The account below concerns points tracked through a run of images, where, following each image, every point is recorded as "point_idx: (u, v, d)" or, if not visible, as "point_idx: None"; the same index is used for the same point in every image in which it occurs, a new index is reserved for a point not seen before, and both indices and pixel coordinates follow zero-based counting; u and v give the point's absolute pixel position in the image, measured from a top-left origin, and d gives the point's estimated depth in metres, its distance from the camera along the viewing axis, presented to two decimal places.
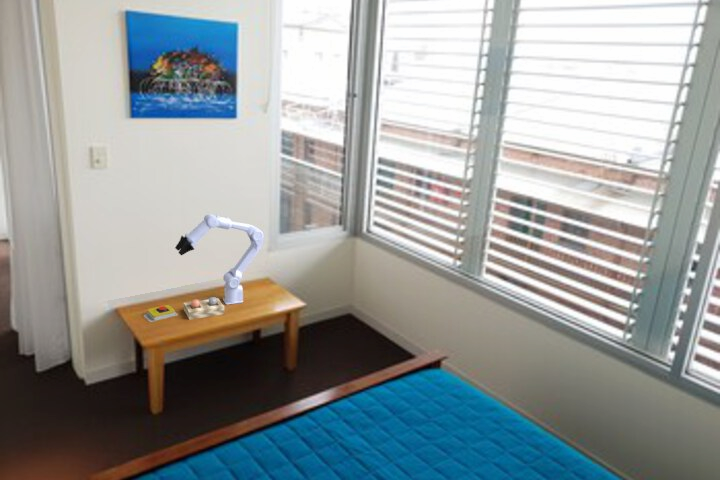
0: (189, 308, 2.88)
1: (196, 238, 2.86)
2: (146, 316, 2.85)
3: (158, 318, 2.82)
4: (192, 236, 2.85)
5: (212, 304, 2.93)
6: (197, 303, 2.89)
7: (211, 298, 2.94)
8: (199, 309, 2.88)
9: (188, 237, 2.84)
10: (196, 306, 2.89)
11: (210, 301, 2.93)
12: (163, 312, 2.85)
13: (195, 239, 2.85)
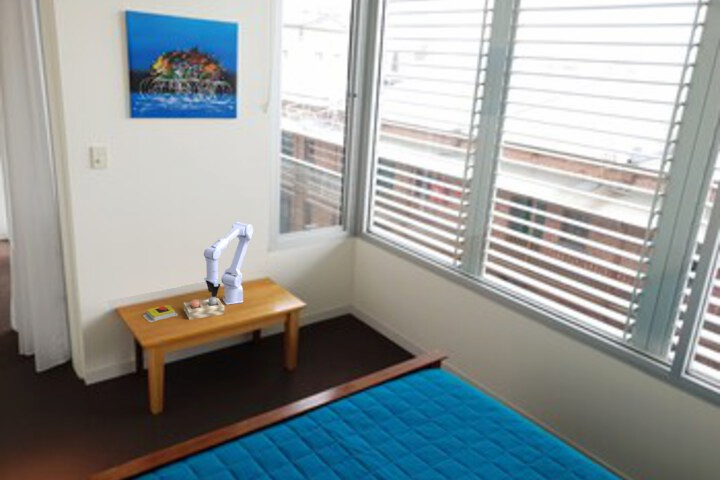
0: (189, 308, 2.88)
1: (214, 276, 2.88)
2: (146, 316, 2.85)
3: (158, 318, 2.82)
4: (210, 277, 2.88)
5: (212, 304, 2.93)
6: (197, 303, 2.89)
7: (211, 298, 2.94)
8: (199, 309, 2.88)
9: (208, 280, 2.88)
10: (196, 306, 2.89)
11: (210, 301, 2.93)
12: (163, 312, 2.85)
13: (214, 277, 2.88)
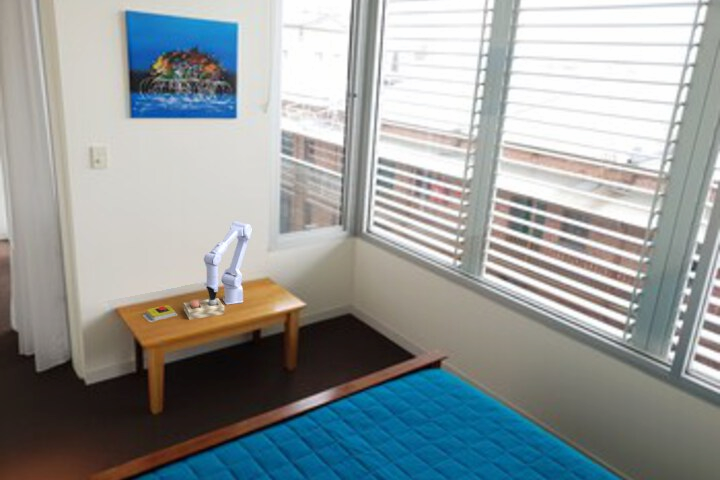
0: (189, 308, 2.88)
1: (214, 281, 2.89)
2: (146, 316, 2.85)
3: (158, 318, 2.82)
4: (210, 283, 2.89)
5: (212, 305, 2.94)
6: (197, 303, 2.89)
7: None
8: (199, 309, 2.88)
9: (208, 286, 2.89)
10: (196, 306, 2.89)
11: (210, 302, 2.93)
12: (163, 312, 2.85)
13: (214, 282, 2.89)
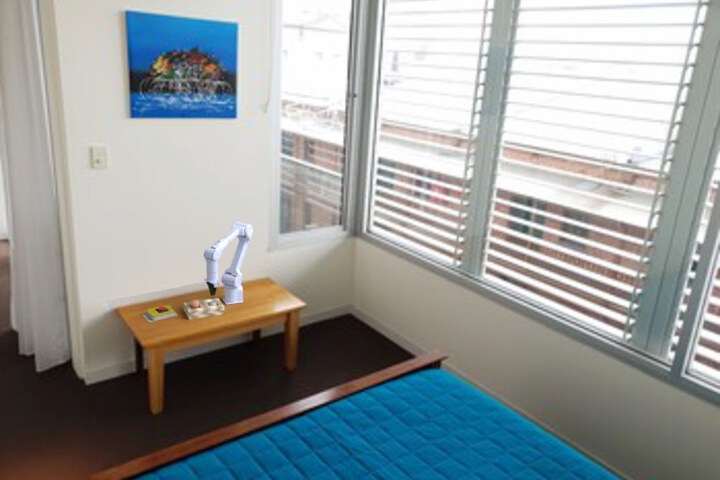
0: (189, 308, 2.88)
1: (214, 277, 2.88)
2: (145, 316, 2.84)
3: (157, 318, 2.82)
4: (210, 278, 2.88)
5: None
6: (197, 303, 2.89)
7: (211, 302, 2.95)
8: (199, 309, 2.88)
9: (208, 281, 2.88)
10: (196, 306, 2.89)
11: None
12: (162, 312, 2.85)
13: (214, 278, 2.89)
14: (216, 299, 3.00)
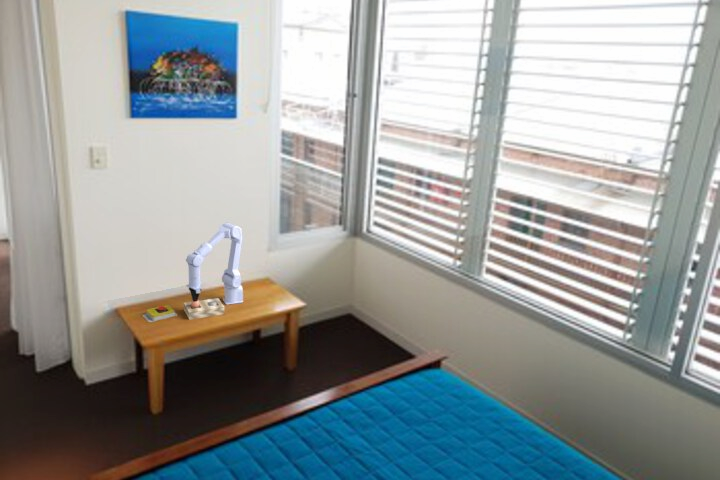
0: (189, 308, 2.88)
1: (197, 282, 2.85)
2: (145, 316, 2.84)
3: (157, 318, 2.82)
4: (192, 284, 2.84)
5: None
6: (197, 303, 2.89)
7: (211, 302, 2.95)
8: (199, 309, 2.88)
9: (190, 287, 2.84)
10: (196, 306, 2.89)
11: None
12: (162, 312, 2.85)
13: (197, 284, 2.85)
14: (216, 299, 3.00)
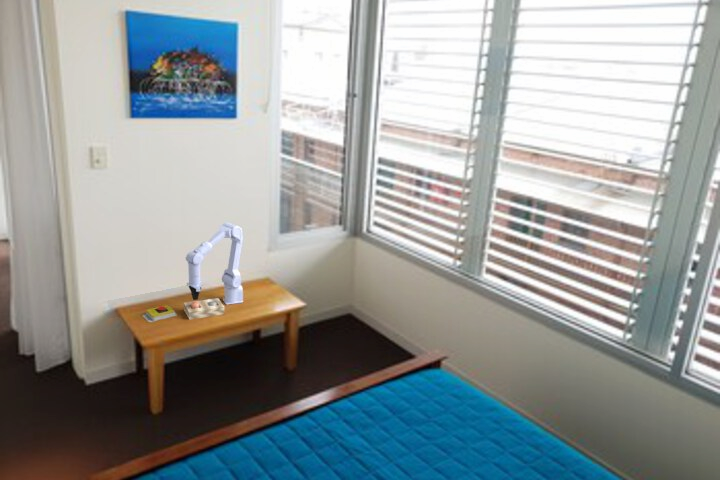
0: (189, 308, 2.88)
1: (197, 281, 2.84)
2: (145, 316, 2.84)
3: (157, 318, 2.82)
4: (192, 282, 2.84)
5: None
6: (197, 305, 2.90)
7: (211, 302, 2.95)
8: (199, 309, 2.88)
9: (190, 285, 2.84)
10: None
11: None
12: (162, 312, 2.85)
13: (197, 282, 2.85)
14: (216, 299, 3.00)
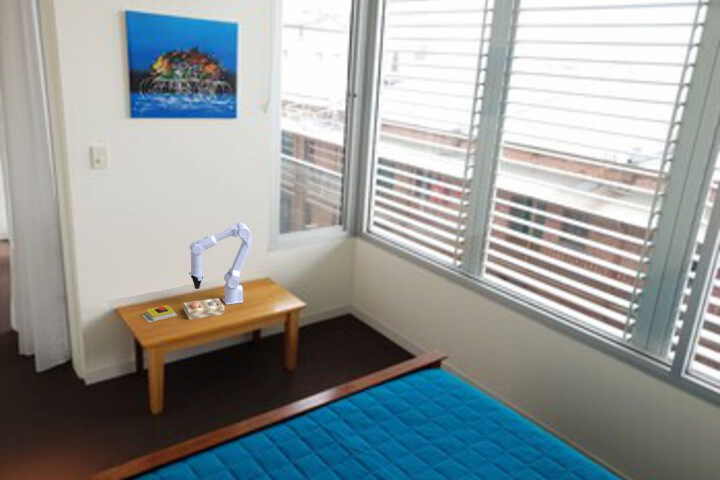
0: (189, 308, 2.88)
1: (198, 270, 2.94)
2: (145, 316, 2.84)
3: (157, 318, 2.82)
4: (194, 271, 2.93)
5: None
6: (197, 305, 2.90)
7: (211, 302, 2.95)
8: (199, 309, 2.88)
9: (192, 275, 2.94)
10: None
11: None
12: (162, 312, 2.85)
13: (199, 271, 2.94)
14: (216, 299, 3.00)
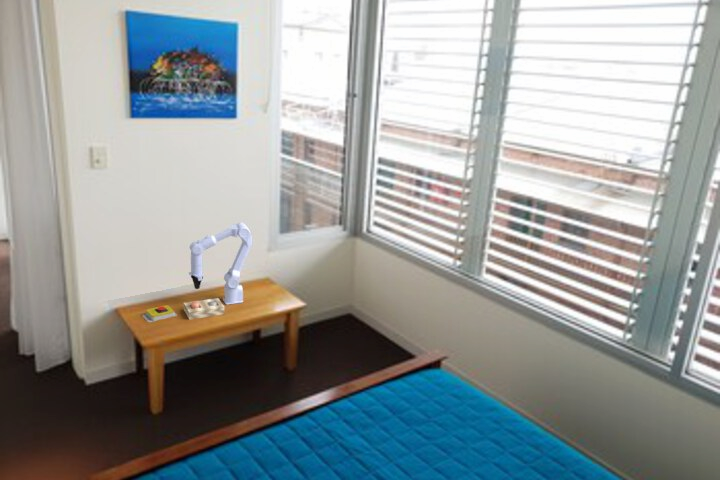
0: (189, 308, 2.88)
1: (198, 270, 2.94)
2: (145, 316, 2.84)
3: (157, 318, 2.82)
4: (194, 271, 2.93)
5: None
6: (197, 305, 2.90)
7: (211, 302, 2.95)
8: (199, 309, 2.88)
9: (192, 275, 2.94)
10: None
11: None
12: (162, 312, 2.85)
13: (199, 271, 2.94)
14: (216, 299, 3.00)
